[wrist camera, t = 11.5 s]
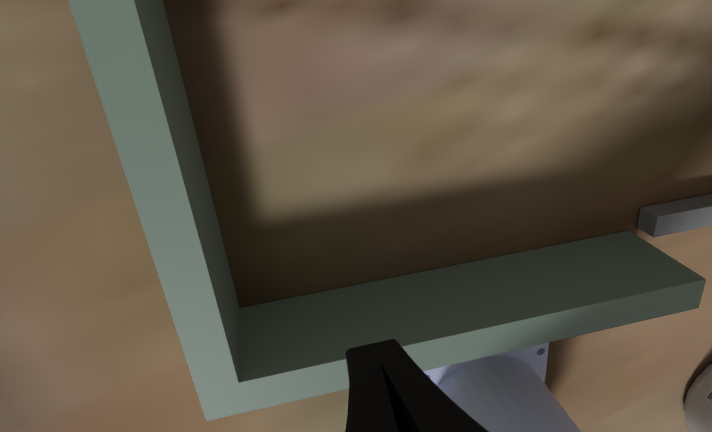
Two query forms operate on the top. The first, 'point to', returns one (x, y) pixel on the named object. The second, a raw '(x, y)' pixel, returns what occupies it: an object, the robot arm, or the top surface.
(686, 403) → the supplement can
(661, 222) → the edging
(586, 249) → the cold frame
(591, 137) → the top surface
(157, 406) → the top surface
